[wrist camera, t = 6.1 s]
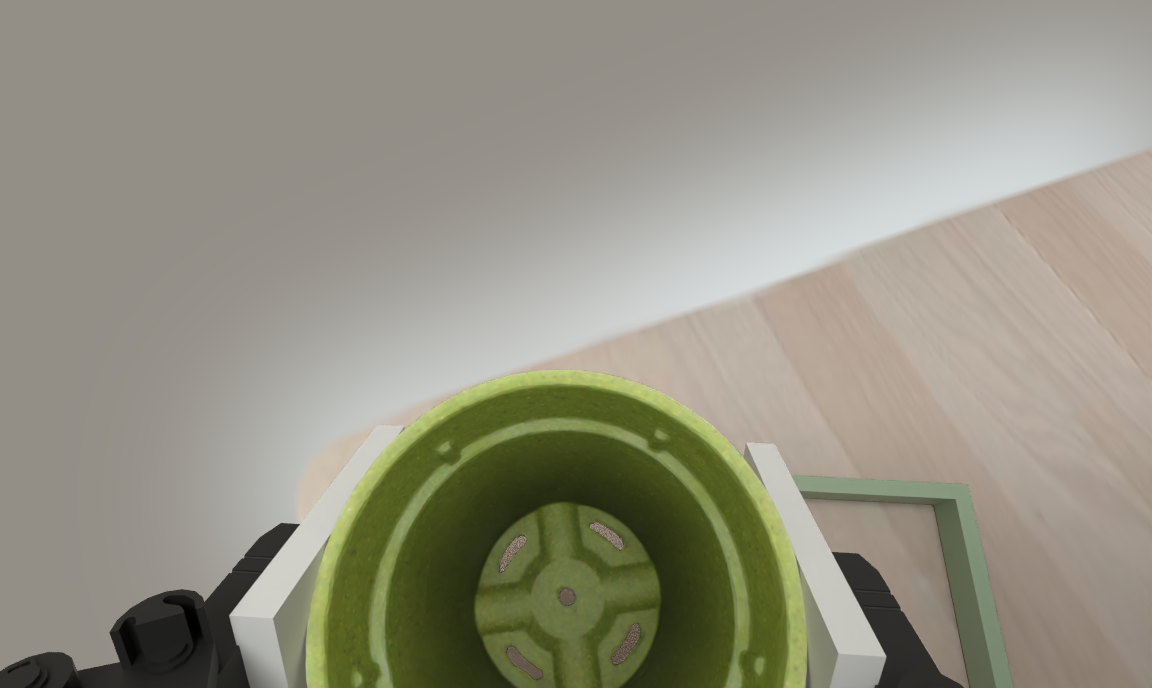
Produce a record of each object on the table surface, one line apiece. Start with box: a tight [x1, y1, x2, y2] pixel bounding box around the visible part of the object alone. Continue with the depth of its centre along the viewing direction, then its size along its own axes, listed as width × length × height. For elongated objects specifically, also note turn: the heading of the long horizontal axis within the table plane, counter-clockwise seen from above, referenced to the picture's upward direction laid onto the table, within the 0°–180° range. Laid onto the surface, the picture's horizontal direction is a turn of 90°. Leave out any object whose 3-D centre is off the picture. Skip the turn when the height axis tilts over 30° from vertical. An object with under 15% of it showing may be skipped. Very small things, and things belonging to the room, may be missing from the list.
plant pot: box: [306, 369, 808, 688], centre depth 15 cm, size 9×9×9 cm
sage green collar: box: [791, 475, 1014, 688], centre depth 28 cm, size 13×13×2 cm
